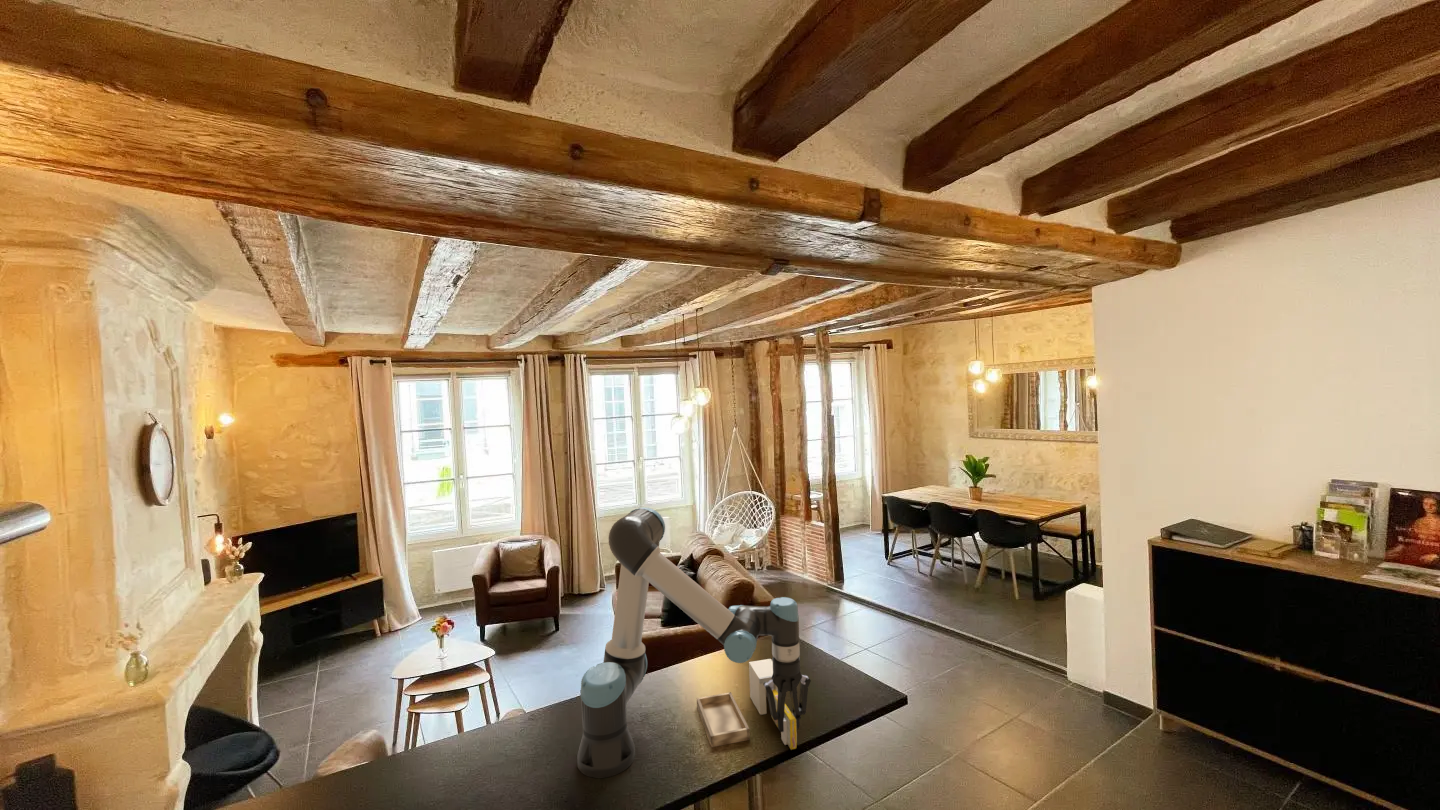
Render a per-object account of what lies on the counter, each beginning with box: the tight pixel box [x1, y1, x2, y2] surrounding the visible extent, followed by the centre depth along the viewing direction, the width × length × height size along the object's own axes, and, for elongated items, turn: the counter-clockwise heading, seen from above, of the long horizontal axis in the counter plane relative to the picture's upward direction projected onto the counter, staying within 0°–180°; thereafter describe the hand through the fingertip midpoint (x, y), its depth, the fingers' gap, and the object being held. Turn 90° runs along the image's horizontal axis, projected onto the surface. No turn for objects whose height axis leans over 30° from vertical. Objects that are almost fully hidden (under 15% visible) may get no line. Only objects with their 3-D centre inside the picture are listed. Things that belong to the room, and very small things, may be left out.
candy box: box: [771, 689, 798, 751], centre depth 158 cm, size 16×2×8 cm, turn 14°
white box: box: [748, 658, 778, 716], centre depth 172 cm, size 7×11×11 cm, turn 14°
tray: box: [696, 691, 751, 748], centre depth 164 cm, size 11×20×3 cm, turn 14°
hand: (789, 740), depth 154 cm, fingers closed on candy box, 2 cm apart
